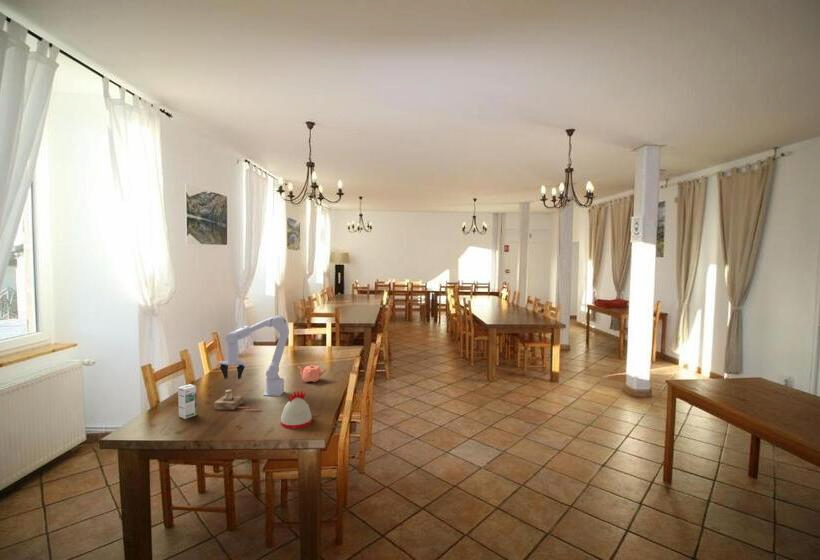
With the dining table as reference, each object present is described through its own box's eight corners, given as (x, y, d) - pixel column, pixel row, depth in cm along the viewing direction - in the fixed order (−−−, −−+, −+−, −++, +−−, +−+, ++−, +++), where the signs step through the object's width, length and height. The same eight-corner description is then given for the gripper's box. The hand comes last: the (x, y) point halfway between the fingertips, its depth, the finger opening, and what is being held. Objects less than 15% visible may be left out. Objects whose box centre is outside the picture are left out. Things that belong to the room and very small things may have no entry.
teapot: (317, 376, 252) (317, 361, 252) (326, 381, 243) (326, 365, 242) (296, 381, 243) (296, 365, 242) (305, 385, 234) (305, 369, 233)
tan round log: (233, 404, 202) (233, 389, 201) (230, 407, 199) (230, 391, 198) (227, 404, 202) (227, 389, 201) (224, 406, 199) (224, 391, 198)
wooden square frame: (242, 402, 205) (242, 396, 205) (233, 409, 195) (233, 403, 195) (224, 402, 205) (224, 395, 205) (214, 409, 195) (214, 402, 195)
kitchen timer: (315, 424, 179) (315, 392, 179) (285, 431, 172) (285, 398, 171) (306, 414, 191) (306, 384, 190) (277, 420, 184) (277, 389, 183)
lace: (264, 408, 197) (264, 407, 197) (261, 411, 194) (261, 410, 193) (234, 407, 198) (234, 406, 198) (231, 410, 194) (231, 409, 194)
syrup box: (184, 419, 183) (184, 389, 182) (178, 416, 186) (177, 386, 185) (196, 415, 188) (196, 385, 187) (190, 412, 191) (189, 383, 190)
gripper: (248, 352, 217) (248, 376, 218) (223, 352, 217) (223, 375, 218) (242, 355, 210) (243, 380, 210) (216, 355, 210) (216, 379, 211)
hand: (232, 378), depth 214 cm, fingers open, 7 cm apart
